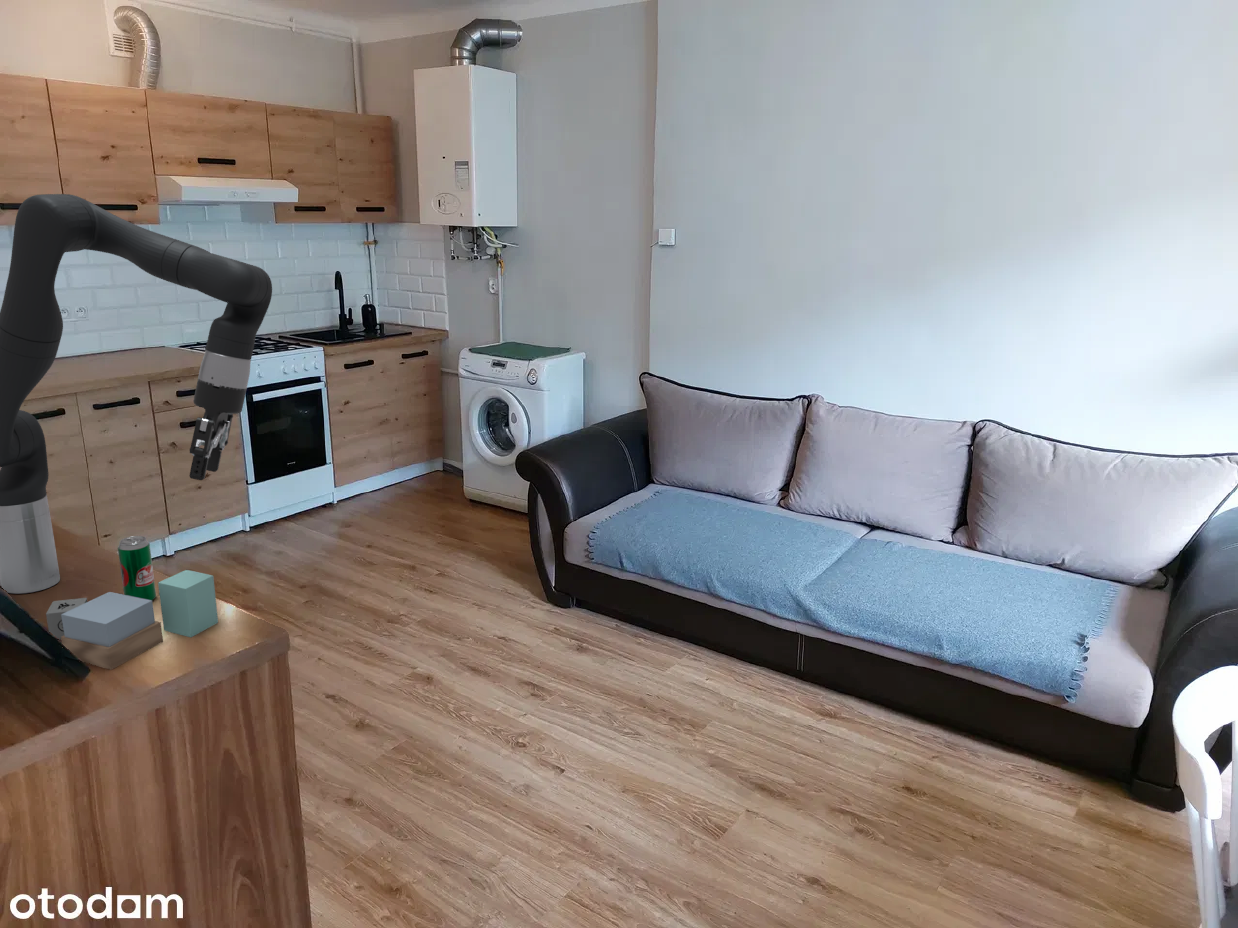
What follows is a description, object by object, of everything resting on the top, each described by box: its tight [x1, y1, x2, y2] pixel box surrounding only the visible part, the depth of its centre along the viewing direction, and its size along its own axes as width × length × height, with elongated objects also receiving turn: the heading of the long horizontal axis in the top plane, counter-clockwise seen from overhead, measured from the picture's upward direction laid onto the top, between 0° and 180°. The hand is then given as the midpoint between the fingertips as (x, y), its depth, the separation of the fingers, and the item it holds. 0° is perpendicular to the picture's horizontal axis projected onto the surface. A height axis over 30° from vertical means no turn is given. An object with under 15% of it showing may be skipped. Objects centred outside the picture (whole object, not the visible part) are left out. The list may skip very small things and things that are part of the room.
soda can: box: [117, 535, 157, 602], centre depth 156 cm, size 5×5×12 cm
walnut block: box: [61, 620, 164, 671], centre depth 140 cm, size 10×10×4 cm
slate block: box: [61, 591, 156, 647], centre depth 139 cm, size 9×9×4 cm
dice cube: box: [45, 597, 88, 640], centre depth 145 cm, size 5×5×5 cm
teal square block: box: [157, 569, 219, 638], centre depth 147 cm, size 6×6×9 cm
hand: (203, 474), depth 144 cm, fingers open, 8 cm apart
